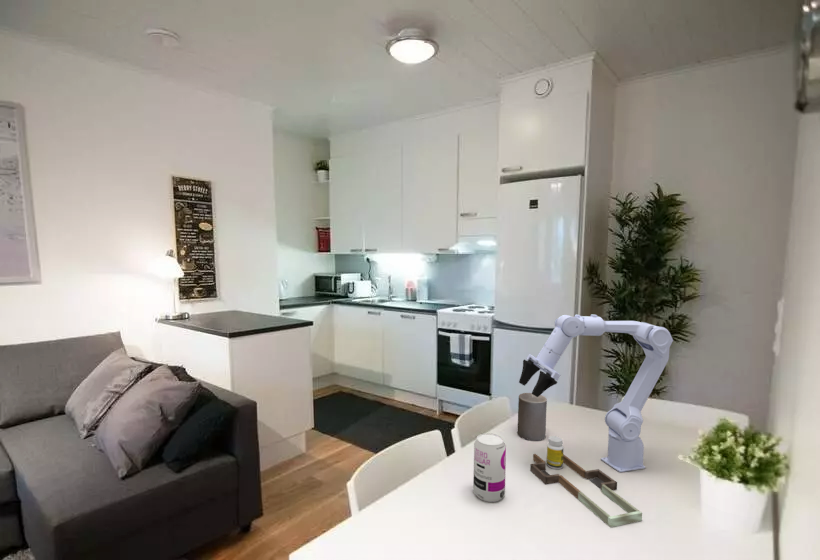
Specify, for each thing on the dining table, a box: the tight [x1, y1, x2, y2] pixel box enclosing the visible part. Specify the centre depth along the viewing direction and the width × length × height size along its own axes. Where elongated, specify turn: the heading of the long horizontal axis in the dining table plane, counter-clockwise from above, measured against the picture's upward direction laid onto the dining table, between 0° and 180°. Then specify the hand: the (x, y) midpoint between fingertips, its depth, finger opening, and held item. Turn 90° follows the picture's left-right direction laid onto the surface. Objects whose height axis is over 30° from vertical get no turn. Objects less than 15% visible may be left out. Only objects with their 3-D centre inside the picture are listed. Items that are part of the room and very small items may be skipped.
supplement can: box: [472, 432, 507, 503], centre depth 107 cm, size 8×8×15 cm
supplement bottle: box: [545, 435, 565, 470], centre depth 122 cm, size 5×5×8 cm
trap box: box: [529, 453, 643, 528], centre depth 111 cm, size 18×32×2 cm, turn 15°
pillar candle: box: [516, 392, 548, 442], centre depth 143 cm, size 10×10×15 cm
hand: (528, 389), depth 122 cm, fingers open, 7 cm apart
